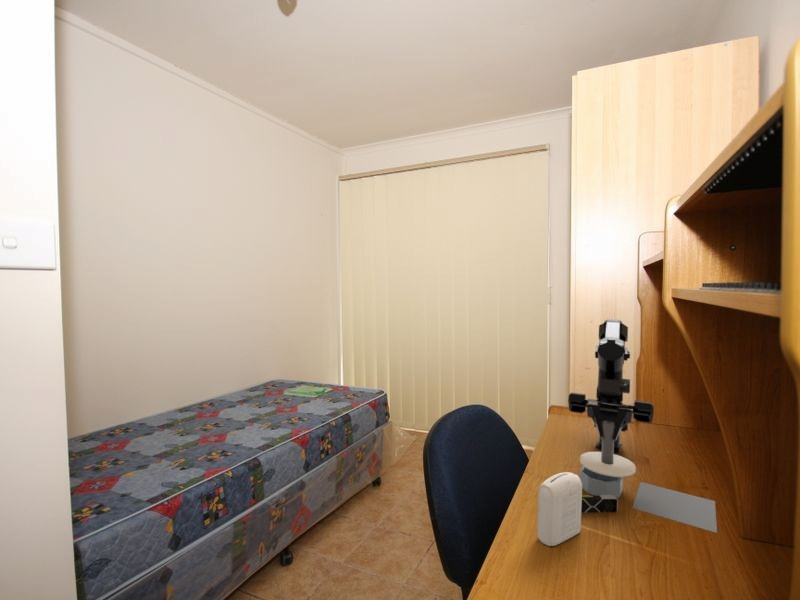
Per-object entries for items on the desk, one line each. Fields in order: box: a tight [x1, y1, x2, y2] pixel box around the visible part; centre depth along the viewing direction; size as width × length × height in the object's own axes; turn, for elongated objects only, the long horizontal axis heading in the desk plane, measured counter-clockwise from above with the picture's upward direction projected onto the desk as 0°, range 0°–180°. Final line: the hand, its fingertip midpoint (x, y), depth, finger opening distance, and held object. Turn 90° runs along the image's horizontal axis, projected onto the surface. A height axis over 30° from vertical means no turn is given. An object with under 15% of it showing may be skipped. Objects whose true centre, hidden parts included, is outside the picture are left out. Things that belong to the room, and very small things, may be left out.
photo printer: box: [536, 471, 583, 547], centre depth 82 cm, size 10×4×12 cm, turn 123°
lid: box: [579, 421, 637, 478], centre depth 99 cm, size 12×12×10 cm
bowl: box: [578, 465, 624, 498], centre depth 100 cm, size 9×9×4 cm
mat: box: [632, 481, 718, 534], centre depth 93 cm, size 15×15×1 cm
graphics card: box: [581, 494, 619, 514], centre depth 90 cm, size 12×3×5 cm, turn 92°
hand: (607, 438), depth 98 cm, fingers closed on lid, 3 cm apart
